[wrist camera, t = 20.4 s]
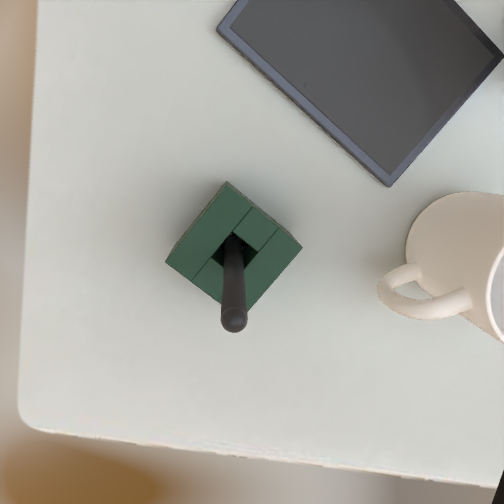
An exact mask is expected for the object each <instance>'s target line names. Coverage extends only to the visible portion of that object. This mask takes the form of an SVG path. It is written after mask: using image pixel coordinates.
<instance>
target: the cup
mask: <svg viewBox="0 0 504 504" xmlns="http://www.w3.org/2000/svg"><path fill="white" fill-rule="evenodd" d="M406 260H407V264H405V265H403V266H400V267H398V268H396V269H393V270H391V271H390V272H388V273H387V274H385V275H384V276H383V277H382V278H381V279H380V280H379V282H378V284H377V295H378V297H379V299H380V300H381V301H382V302H383V303H384V304H385V305H386V306H387V307H389V308H390V309H392V310H393V311H395V312H397V313H399V314H401V315H404V316H406V317H410V318H414V319H420V320H436V319H442V318H446V317H450V316H453V315H456V314H459V315H461V316H462V317H464V318H465V319H467V320H468V321H470V322H471V323H473V324H474V325H476V326H477V327H479V328H480V329H482V330H483V331H485V332H486V333H488V334H489V335H491V336H492V337H494V338H495V339H497V340H498V341H500V342H501V343H503V344H504V195H497V194H490V193H482V192H458V193H453V194H449V195H446V196H444V197H442V198H440V199H438V200H436V201H434V202H433V203H432V204H430V205H429V206H428V207H426V208H425V209H424V210H423V211H422V212H421V213H420V215H419V216H418V217H417V218H416V220H415V221H414V223H413V225H412V227H411V229H410V231H409V234H408V237H407V242H406ZM412 281H416V282H417V283H418V285H419V286H420V287H421V288H422V289H423V290H425V291H426V292H427V293H428V294H430V295H431V296H433V297H434V298H432V299H427V300H415V299H410V298H407V297H404V296H402V295H400V294H398V293H397V292H395V291H394V290H393V289H394V288H396V287H398V286H400V285H402V284H405V283H408V282H412Z"/></svg>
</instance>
